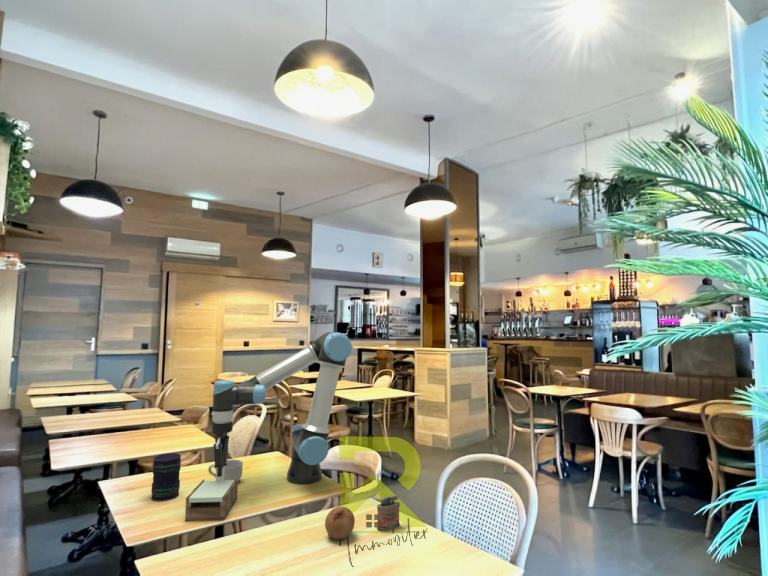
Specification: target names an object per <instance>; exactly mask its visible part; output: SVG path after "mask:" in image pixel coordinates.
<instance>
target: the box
mask: <svg viewBox="0 0 768 576" xmlns="http://www.w3.org/2000/svg"><path fill="white" fill-rule="evenodd" d="M204 481H205V479H202V480H201V481H200V482H199V483H198V484H197V486H196V487H195V488H193V490H192V491H191V492H190V493H189V494H188V496H186V497H185V514H184V515H185V518H184V521H185V522H197V521H198V522H200V521H202V522H203V521H224V520H226V518H227V516H228V515H229V514H230V511H232V508H233V507H234V505H235V504H236V502H237V501H238V493H239V492H238V491H239V490H238V487H239V480H238V479H236V480H235V482H234V483H233V485H232V486H231V487H230V489H229V490H228V492H227V493H226V494H225V496H224V500H223V501H222V502H192V503H189V497H190V496H191V495H192V494H193V493H194V492H195V491H196V490H197V489H198V487H199V486H200V485H201V484H202V483H203V482H204Z"/></svg>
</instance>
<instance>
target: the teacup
mask: <svg viewBox="0 0 768 576" xmlns="http://www.w3.org/2000/svg"><path fill="white" fill-rule="evenodd" d="M225 463H227V466H225V476H224V480H236V479H238V481H240V479H241V478H242V475H243V465H244V462H243V461H242V460H240V459H227V462H225ZM214 466H215V463H212V464H210V465H208V468H207V469H208V473H209V474H210V475H211V476H212V477H214V479H216V472H213V471H212V468H214ZM214 469H215V470H216V469H217V468H214Z"/></svg>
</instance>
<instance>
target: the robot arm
mask: <svg viewBox="0 0 768 576" xmlns="http://www.w3.org/2000/svg"><path fill="white" fill-rule="evenodd" d="M352 348H353V346H352V341H351V340H350V338H349V337H348V336H347V335H346V334H344V333H341V332H337V331H336V332H335V331H334V332H333V331H331V332H326V333H323V334H322V335H320V336H319V337H318V338H316V339H314V340H313V341H311V342H310V343H308V344H307V346H306V347H305V348H302V350H301V349H300V351H298V352H296V353H294V354H293V355H290V356H289V357H287V358H285V359H283V360H282V361H280V362H278V363H277V364H275V365H273V366H271V367H269V368H268V369H266V370H264V371H262V372H260V373H258V374H257V375H255V376H253V377H252V378H249V379H247V380H244V381H242V382H241V383H240V385H236V384H235V382H234V380H231V379H229V380H224V379H223V380H217V381H215V382H214V383H213V395H212V412H211V414H210V415H211V416H212V423H211V432H212V433H213V434H216V437H215V441H214V442H215V443H214V444H213V450H214V451H213V452H214V455H213V456H214V464H215V466H214V467H213V468H214V469H215V468H217V469H215V471H216V472H215V474H216V478H215V480H224V476H225V466H227V463H225V462H227V460H228V451H229V450H228V449H229V441H230V435H228V434H229V433H231V432H232V431H233V426H234V424H233V423H234V422H233V420H234V406H239V405H240V406H243V405H261V404H264V403H265V400H266V391H267V390H268V389H271V388H272V387H274V386H276V385H278V384H280V383H282V382H283V381H284V380H286V379H288V378H290V377H291V376H293V375H295V374H296V373H298V372H301V371H302V370H304V369H305V368H307V367H309V366H311V365H313V364H314V363H316V364H319V365H320V366H319V371H318V375H317V379H316V382H315V383H316V384H315V387H314V392H313V396H312V399H311V404H310V407H309V412H308V417H307V420H306V423H299V424H298V423H297V424H295V425H293V426H292V430H291V460H290V463H289V467H288V471H287V473H286V480H287V482H289V483H293V484H299V485H302V484H304V485H305V484H312V483H316V482H319V481H320V480H321V479H322V477H323V471H322V468H321V464H320V463H322V462H324V460H326V458H327V456H328V454H329V443H328V440H329V436H330V430H329V428H328V423H329V420H330V416H331V411H332V407H333V401H334V398H335V394H336V389H337V385H338V382H339V381H338V380H339V376H340V372H341V370H342V369H343V368H346V367H345V366H346V363H347V359H348V358H349V357H350V355H351V353H352Z"/></svg>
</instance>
